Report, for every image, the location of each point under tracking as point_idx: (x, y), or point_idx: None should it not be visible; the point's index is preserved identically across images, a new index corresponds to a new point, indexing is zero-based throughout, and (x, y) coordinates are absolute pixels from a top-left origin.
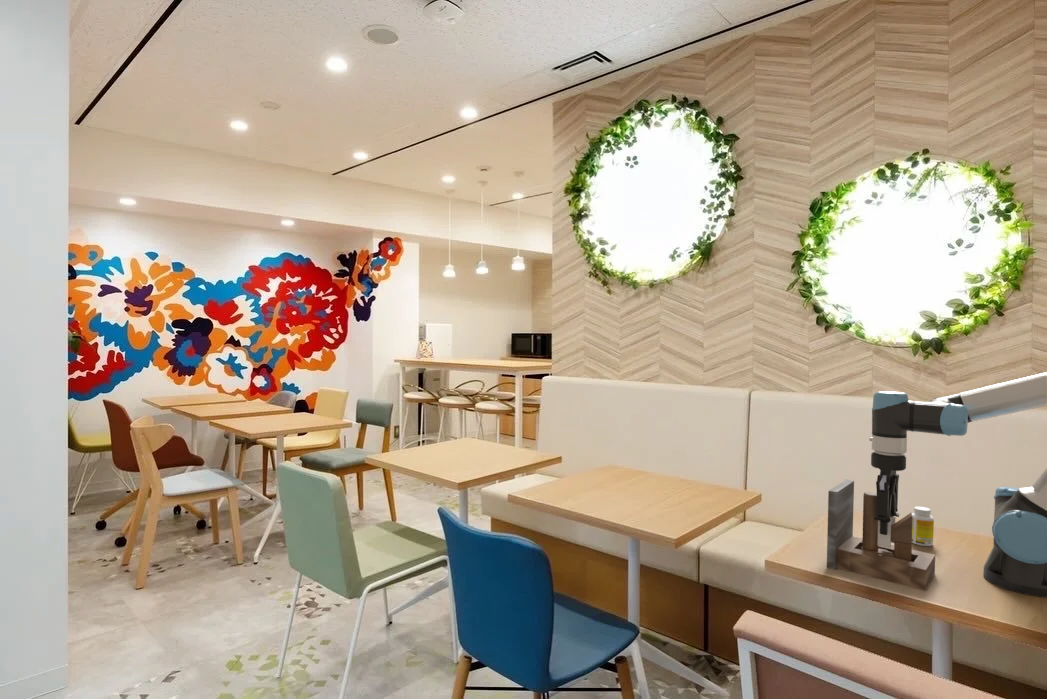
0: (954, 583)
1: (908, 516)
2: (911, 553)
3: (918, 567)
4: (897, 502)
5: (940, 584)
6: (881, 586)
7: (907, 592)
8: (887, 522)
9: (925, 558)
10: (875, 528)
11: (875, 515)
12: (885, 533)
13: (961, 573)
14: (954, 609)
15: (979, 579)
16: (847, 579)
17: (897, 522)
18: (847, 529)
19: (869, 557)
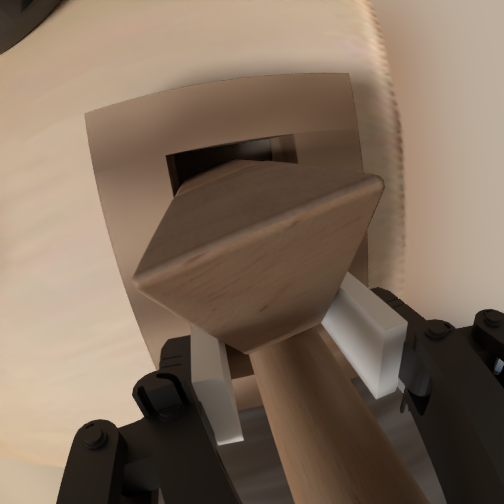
0: (148, 50)
1: (297, 251)
2: (248, 160)
3: (345, 101)
4: (63, 502)
5: (201, 72)
6: (381, 197)
7: (368, 128)
8: (404, 336)
9: (183, 115)
10: (339, 369)
11: (380, 431)
12: (388, 294)
13: (32, 85)
14: (373, 17)
15: (47, 34)
16: (395, 279)
17: (246, 324)
18: (244, 442)
19: (365, 281)
